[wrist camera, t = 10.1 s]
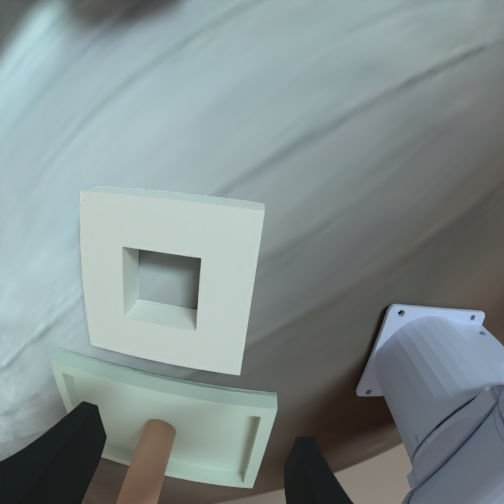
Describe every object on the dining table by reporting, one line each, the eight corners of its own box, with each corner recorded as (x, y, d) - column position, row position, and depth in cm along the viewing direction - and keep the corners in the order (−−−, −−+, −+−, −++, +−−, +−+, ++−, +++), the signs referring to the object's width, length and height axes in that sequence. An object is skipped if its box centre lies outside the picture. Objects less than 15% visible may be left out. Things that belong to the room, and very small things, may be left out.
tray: (276, 392, 21) (277, 409, 19) (252, 474, 25) (252, 488, 23) (60, 347, 21) (49, 359, 19) (88, 438, 25) (82, 449, 23)
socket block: (264, 203, 17) (264, 211, 15) (242, 351, 20) (239, 375, 18) (101, 185, 17) (80, 190, 15) (105, 326, 20) (90, 344, 18)
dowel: (175, 423, 22) (150, 510, 14) (176, 440, 23) (155, 522, 14) (144, 416, 22) (111, 499, 14) (147, 434, 23) (119, 512, 14)
